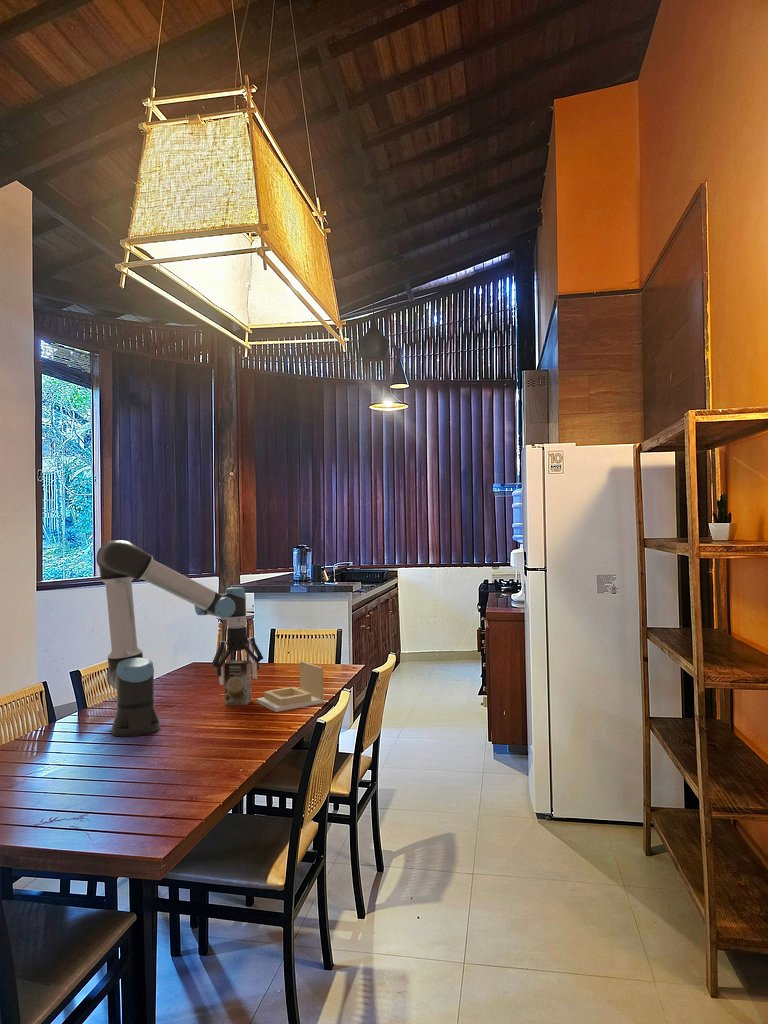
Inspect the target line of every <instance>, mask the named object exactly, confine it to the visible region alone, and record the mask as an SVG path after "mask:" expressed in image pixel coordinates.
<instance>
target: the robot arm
mask: <svg viewBox="0 0 768 1024" xmlns="http://www.w3.org/2000/svg"><path fill="white" fill-rule="evenodd" d="M95 557H96V560H95V561H96V563H97V565H98V567H99V576H100V577H99V578H100V581H101V582H102V583H103V584H105V591H106V592H105V593H106V601H107V604H106V605H107V613H108V614H107V615H108V625H109V636H110V646H111V651H110V653H109V654H108V655H107V671H106V678H107V681H108V683H109V684H110V686H111V687H112V688H113V689H115V690H116V697H117V698H116V699H117V700H116V701H117V703H116V704H117V705H116V706H117V709H116V712H115V716H114V720H113V722H112V727H111V734H112V736H115V737H120V738H121V737H124V738H126V737H127V738H128V737H131V738H132V737H138V736H139V737H140V736H145V735H147V734H152V733H155V732H156V731H159V729H160V728H161V727H160V726H161V724H160V722H161V721H160V719H159V715H158V713H157V709H156V707H155V696H154V694H155V690H154V689H155V686H154V683H155V681H154V675H155V668H154V664H153V662H152V660H151V659H148V658H144V656H143V655H144V654H143V650H142V649H140V648H139V647H138V639H137V638H138V637H137V629H136V628H137V627H136V617H135V606H134V595H133V585H132V582H133V580H134V579H135V580H137V581H140V580H143V581H145V582H147V583H150V584H151V585H153V586H155V587H157V588H160V589H161V590H164V591H165V592H168V593H169V594H171V595H173V596H176V597H177V598H179V599H182V600H184V601H186V602H188V603H190V604H192V605H194V611H195V614H196V615H197V616H207V615H210V616H214V617H218V618H221V619H226V627H227V629H226V634H227V635H226V636H227V639H226V641H224V640H220V641H219V642H218V648H217V650H216V653H215V656H214V657H213V660H212V662H211V666H212V667H214V668H216V675H217V677H219V681H218V682H219V685H221V686H223V685H224V686H225V674H224V667H223V665H224V664H225V663H226V662H227V659H228V658H229V656H230V655H231V654H232V653H233V652H238V651H240V652H242V651H245V653H247V655H248V656H249V657H250V658H251V659H252V660H253V661H251V670H252V679H255V680H258V671H259V669H260V661H261V660H264V656H263V654H262V652H261V651H260V649H259V647H258V645H257V643H256V638H255V637H254V636H253V637H252V636H250V637H249V638H248V631H247V627H246V625H247V607H246V606H247V601H246V600H247V598H246V596H247V595H246V590H245V588H244V587H243V586H235V587H231V586H230V587H227V588H225V592H224V593H218V592H216V591H214V590H213V589H211V588H208V587H207V586H206V585H203V584H201V583H199V582H197V581H196V580H194V579H192V578H190V577H188V576H186V575H184V574H181V573H180V572H178V571H176V570H174V569H172V568H171V567H169V566H167V565H165V564H163V563H160V562H159V561H157V560H155V559H154V557H153V555H151V554H150V553H148V552H146V551H144V549H142V548H140V547H138V546H136V544H134V543H132V542H130V541H128V540H122V539H121V540H120V539H119V540H116V539H114V540H108V541H107V542H105V543H104V544H102V545H101V546H100V547H99V548H98V550H97V552H96V556H95ZM248 643H249V644H250V646H251V647H252V649H253V651H254V652H252V650H251V649H250V647H248V646H247V644H248ZM226 646H227V648H226V649H225V652H224V654H223V651H224V648H225V647H226ZM254 653H255V654H254Z"/></svg>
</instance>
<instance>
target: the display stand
mask: <svg viewBox="0 0 768 1024" xmlns="http://www.w3.org/2000/svg"><path fill="white" fill-rule="evenodd" d="M299 684H300V685H299V688H298V687H296V686H290V687H289V686H288V687H283V688H278V689H271V690H266V691H264V692H263V697H257V698H256V703H257V704H259V705H261V706H263V707H265V708H267V709H268V710H271V711H272V712H274V711H275V712H276V713H277V712H284V711H288V710H293V709H300V708H304V707H310V706H311V707H312V706H315V705H320V704H325V703H324V702H325V698H324V696H325V695H324V692H325V691H324V667H322V666H319V665H316V664H313V663H310V662H307V661H305V660H304V661H303V660H300V661H299Z"/></svg>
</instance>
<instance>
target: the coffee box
mask: <svg viewBox="0 0 768 1024" xmlns="http://www.w3.org/2000/svg"><path fill="white" fill-rule="evenodd" d="M251 702H252V661H251V660H245V659H244V660H239V659H238V660H236V659H235V660H234V659H233V660H231V659H230V660H228V661H225V662H224V705H225V706H231V705H232V706H233V705H234V706H239V705H240V706H247V705H248V704H250V703H251Z"/></svg>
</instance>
